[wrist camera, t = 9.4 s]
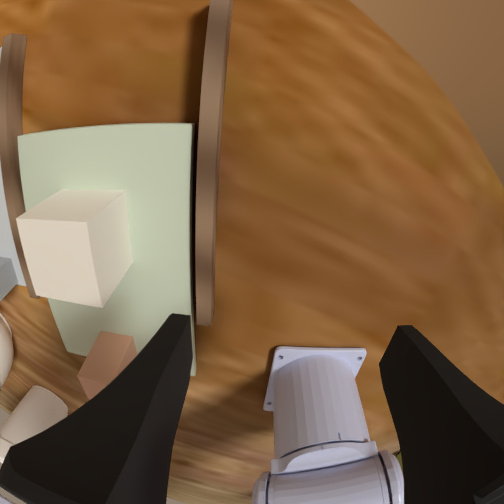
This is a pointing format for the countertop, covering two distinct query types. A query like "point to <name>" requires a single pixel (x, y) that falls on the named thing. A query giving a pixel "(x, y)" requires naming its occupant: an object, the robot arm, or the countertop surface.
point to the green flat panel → (140, 228)
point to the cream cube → (77, 245)
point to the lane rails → (208, 156)
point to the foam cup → (31, 417)
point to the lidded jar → (5, 350)
